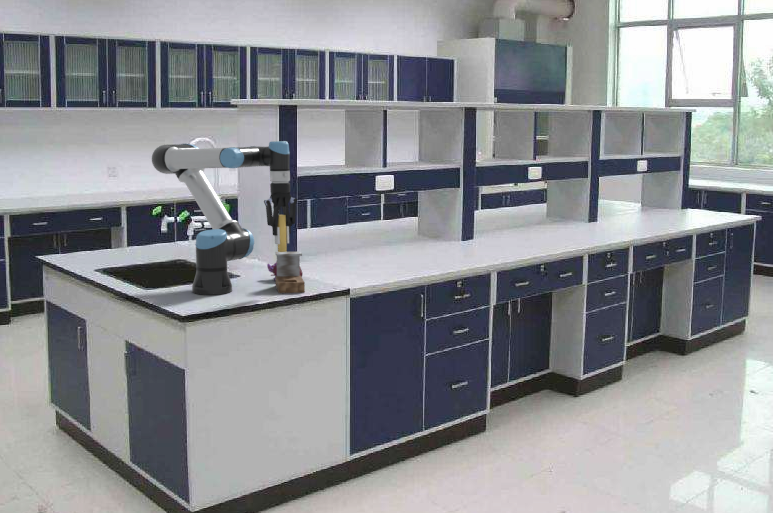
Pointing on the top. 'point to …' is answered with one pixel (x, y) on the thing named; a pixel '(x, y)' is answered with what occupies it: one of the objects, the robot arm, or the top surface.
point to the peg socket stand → (289, 273)
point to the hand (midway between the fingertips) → (282, 243)
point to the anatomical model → (274, 269)
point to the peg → (282, 233)
